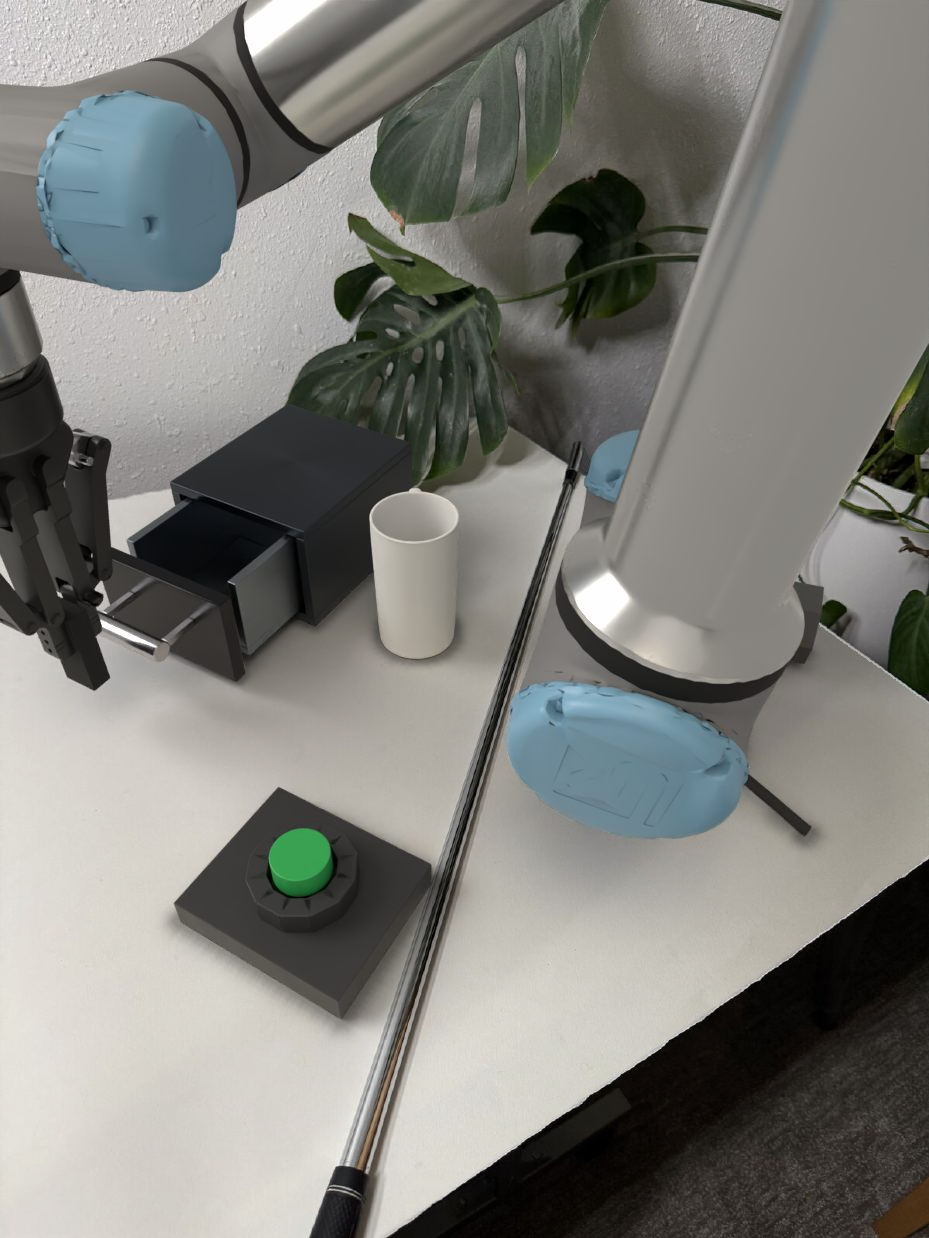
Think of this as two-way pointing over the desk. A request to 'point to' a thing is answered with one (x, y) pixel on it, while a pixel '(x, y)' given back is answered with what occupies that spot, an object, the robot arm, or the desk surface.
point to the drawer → (202, 588)
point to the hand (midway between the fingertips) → (88, 677)
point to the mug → (415, 571)
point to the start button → (301, 862)
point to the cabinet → (307, 493)
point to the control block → (307, 903)
